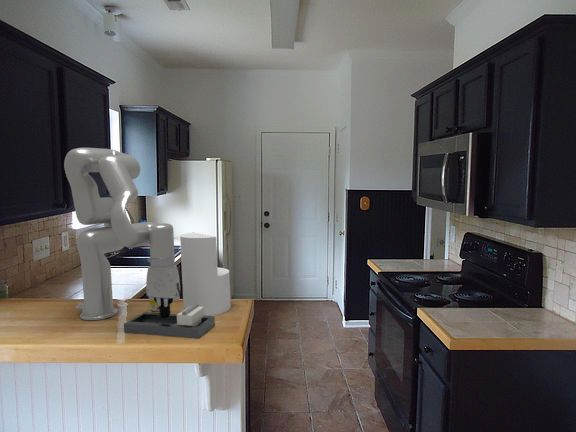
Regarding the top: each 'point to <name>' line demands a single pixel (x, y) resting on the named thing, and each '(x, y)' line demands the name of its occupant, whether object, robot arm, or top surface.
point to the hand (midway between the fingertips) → (165, 317)
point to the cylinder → (203, 275)
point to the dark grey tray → (166, 326)
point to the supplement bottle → (154, 305)
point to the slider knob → (191, 316)
